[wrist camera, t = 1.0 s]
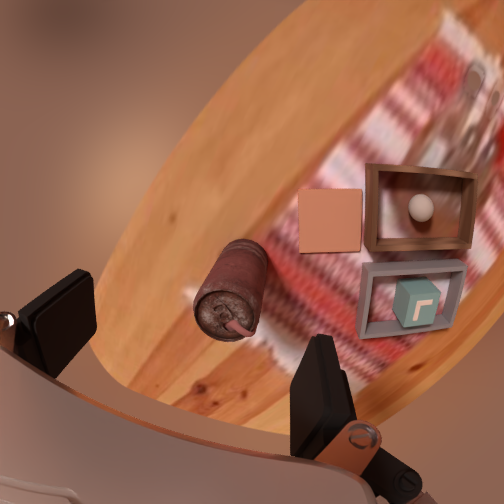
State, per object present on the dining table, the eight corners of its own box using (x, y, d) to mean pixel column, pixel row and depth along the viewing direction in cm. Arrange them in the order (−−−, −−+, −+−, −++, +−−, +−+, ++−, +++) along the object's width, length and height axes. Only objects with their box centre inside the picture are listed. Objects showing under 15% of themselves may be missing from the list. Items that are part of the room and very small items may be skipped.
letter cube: (425, 276, 35) (441, 292, 30) (419, 306, 36) (433, 324, 31) (397, 278, 35) (410, 295, 30) (392, 308, 37) (403, 327, 32)
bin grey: (457, 258, 33) (467, 265, 30) (444, 317, 36) (451, 327, 34) (362, 262, 35) (368, 271, 32) (355, 327, 38) (359, 339, 36)
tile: (361, 188, 32) (361, 189, 31) (359, 250, 34) (359, 251, 34) (297, 189, 33) (297, 189, 32) (299, 251, 35) (299, 252, 35)
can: (256, 289, 38) (242, 356, 25) (214, 267, 37) (181, 326, 24) (278, 252, 36) (275, 309, 23) (234, 229, 35) (205, 274, 22)
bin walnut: (465, 171, 29) (477, 174, 26) (460, 242, 32) (470, 248, 29) (365, 163, 31) (372, 164, 28) (363, 244, 34) (370, 251, 31)
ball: (426, 192, 31) (439, 197, 27) (425, 218, 32) (437, 224, 29) (404, 191, 31) (416, 196, 28) (403, 218, 32) (414, 224, 29)
